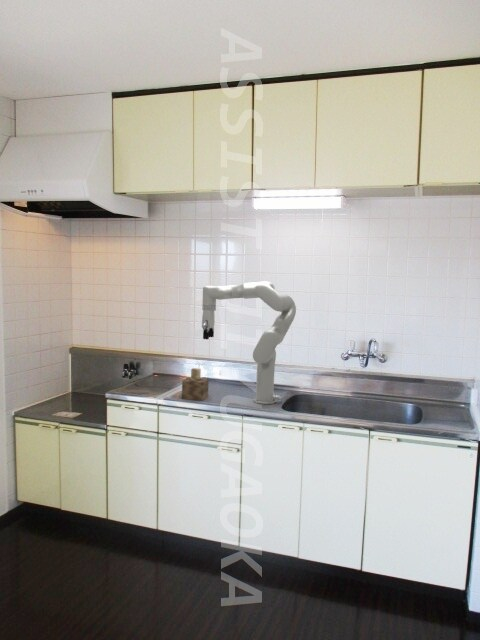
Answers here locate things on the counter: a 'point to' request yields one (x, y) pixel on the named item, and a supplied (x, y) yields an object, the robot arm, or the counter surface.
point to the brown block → (195, 389)
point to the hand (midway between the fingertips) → (208, 338)
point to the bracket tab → (195, 374)
